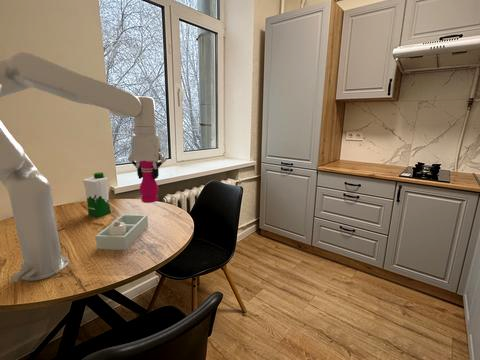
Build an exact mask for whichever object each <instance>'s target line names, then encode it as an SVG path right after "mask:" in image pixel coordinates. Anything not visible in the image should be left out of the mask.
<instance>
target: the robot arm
mask: <svg viewBox="0 0 480 360" xmlns="http://www.w3.org/2000/svg"><path fill="white" fill-rule="evenodd" d="M30 88H33V89H37V90H40V91H41V92H45V93H48V94H52V95H54V96H57V97H59V98H63V99H65V100H69V101H71V102H74V103H77V104H82V105H83V104H84V105H90V106H96V107H100V108H103V109H106V110H108V111H109V113H111V114H112V115H114V116H116V117H118V118H120V117H121V118H133V124H134V125H133V126H132V127H131V128H130V131H131V132H133V133H134V134H132V135H131V149H130V150H131V153H130V155H129V157H127V160H128V162H130V163H131V164H132V165H133V166H134V167H135V168H136V172H137V177H138V179H139V180H141V179H143V173H142V171H141V168H142V166H141V165H140V164H139V162H141V161H148V162H153V167H154V169H153V179H155V180H156V179H158V177H159V175H160V174H159V168H160V167H161V166H162V165H163V164H164V163H165V162H167V158H166V157H165V156H164V154H162V149H161V142H160V138H159V135H158V134H157V125H156V108H155V100H154V98H153V97H151V96H143V95H142V96H139V95H137V96H136V95H135V94H134V93H131V92H128V91H126V90H124V89H122V88H120V87H117V86H115V85H112V84H109V83H107V82H103V81H100V80H97V79H95V78H92V77H89V76H86V75H83V74H81V73H78V72H75V71H73V70H71V69H68V68H66V67H63V66H61V65H59V64H57V63H55V62H53V61H49V60H48V59H45V58H42V57H40V56H39V55H36V54H33V53H29V52H24V51H22V52H21V51H20V52H18V53H17V52H16V53H14V54H12V56H11V57H9V58H8V59H5V60H4V59H3V60H1V61H0V98H3V97H6V96H9V95H13V94H16V93H19V92H22V91H25V90H28V89H30ZM0 182H1V184H2V185H3V186H4V188H6V190H7V194H8V197H9V200H10V201H9V202H10V205H11V210H12V216H13V220H14V225H15V229H16V232H17V238H18V242H19V243H18V244H19V247H20V252H21V256H22V261H23V262H22V263H21V264H20V267H21V268H20V269H19V271H18V272H16V273H15V274H14V275H12V276H10V280H11V281H12V282H13V283H16V282H18V281H19V280H23V281H27V282H33V281H42V280H45V279H48V278H51V277H54V276H56V275H58V274H59V272H60V271H61V270H62V269H64V268H65V267H66V266H68V264H69V258H68V257H66V256H64V255H62V249H61V243H60V238H59V232H58V226H57V221H56V216H55V215H56V214H55V209H54V199H53V189H52V186H51V184H50V182H49V180H48V178H46V176H45V175H43V174H42V173H41V172H40V171H39V169H38V168H37V167H36V166H35V164H34V163H33V162H32V160H31V159H30V157H29V156H28V155H27V153H26V152H25V150H24V148H23V147H22V145H21V144H20V143H19V142H18V141H16V139H15V138H14V137H13V135H12V134H11V133H10V132H9V130H8V129H7V128H6V125H4V123H3V122H2V120H1V119H0Z"/></svg>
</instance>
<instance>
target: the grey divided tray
mask: <svg viewBox="0 0 480 360" xmlns="http://www.w3.org/2000/svg"><path fill="white" fill-rule="evenodd" d="M148 220H149V219H148V215H147V214H126V213H125V214H124V213H123V214H121V215H120V216H119V217H117V218H116V219H115V220H114V221H112V223H114V222H116V221H119V222H123V223H125V227H126V234H125V235H124V236H110V234H109V225H107V226H106V227H105V228H104V229H103V230H101V231H100V232H98V233H97V234H96V235H95V243H96V249H97V250H115V251H116V250H118V251H122V250H123V251H126V250H128V248H129V247H130V246H131V245H132V244H133V243H134V242H135V241H136V240H137V239H138V238H139V237H140V236H141V234H142V233H144V231H145V230H146V229H147V228H148V227H149V223H148ZM112 223H110V224H112Z"/></svg>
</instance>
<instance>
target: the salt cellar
mask: <svg viewBox="0 0 480 360" xmlns="http://www.w3.org/2000/svg"><path fill="white" fill-rule="evenodd" d="M113 222H114V221H113ZM113 222H112V224H111V223H110V224H109V225H108V226H109V234H110V236H124V235H125V234H126V227H125V223H123V222H119V221H116V222H114V223H113Z"/></svg>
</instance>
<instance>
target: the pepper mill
mask: <svg viewBox="0 0 480 360" xmlns="http://www.w3.org/2000/svg"><path fill="white" fill-rule="evenodd" d="M139 164H140V165H141V166H142V168H141V171H142V173H143V177H142V178H141V179H142V180H141V183H140V185H139V193H140V194H141V199H140V200H141V203H145V204H150V203H151V204H152V203H156V202H158V201H159V195H158V193H159V191H160V190H159V185H158V183H157V181H156V179H153V169H154V167H153V162H148V161H141V162H139Z"/></svg>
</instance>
